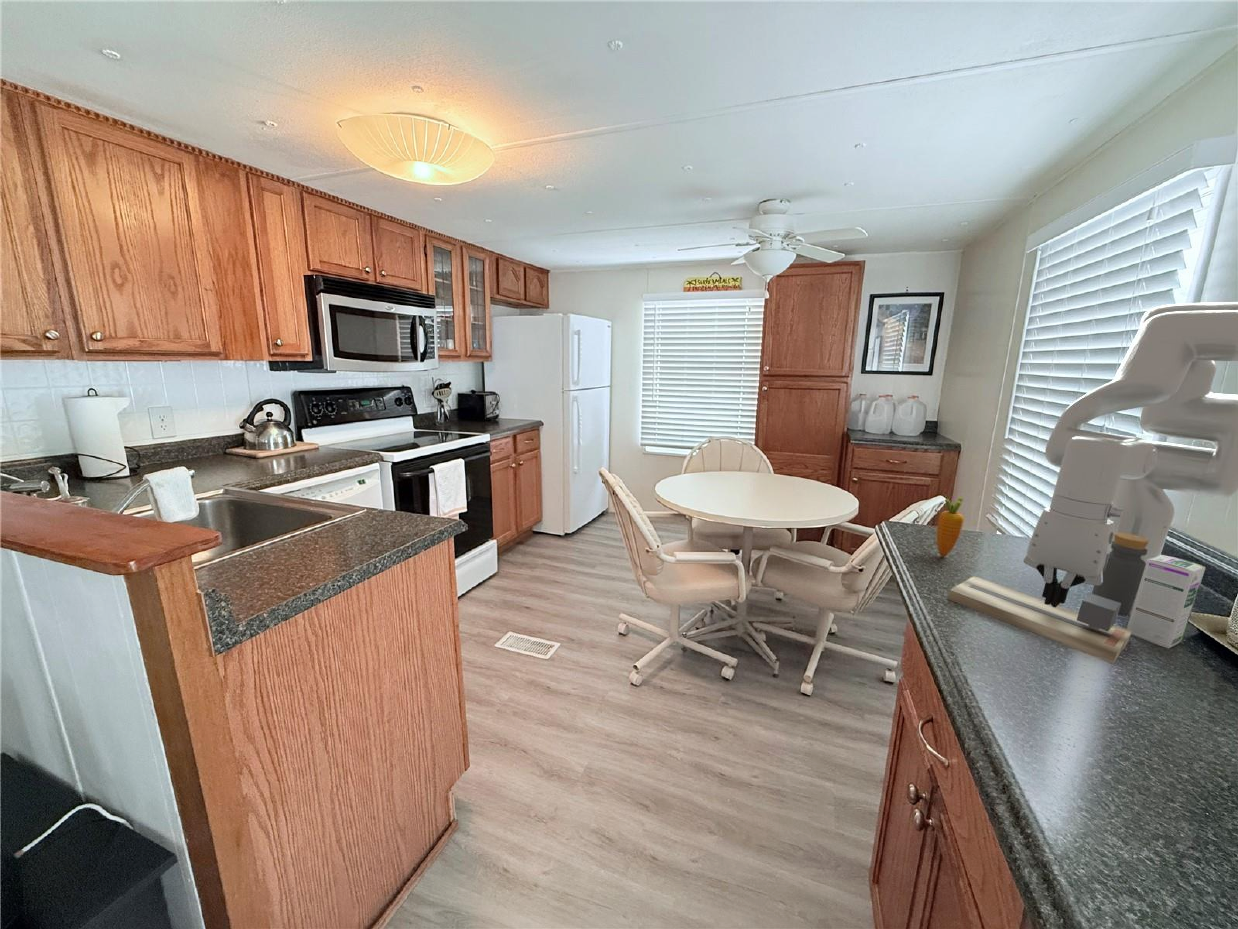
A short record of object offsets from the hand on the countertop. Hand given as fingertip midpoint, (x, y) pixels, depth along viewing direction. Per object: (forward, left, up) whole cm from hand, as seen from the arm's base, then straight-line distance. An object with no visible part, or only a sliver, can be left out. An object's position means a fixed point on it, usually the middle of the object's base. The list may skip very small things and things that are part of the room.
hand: (1052, 603), depth 89 cm
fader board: (0, -2, -4) cm, 5 cm away
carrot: (-17, -24, -4) cm, 30 cm away
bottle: (-20, +5, -4) cm, 21 cm away
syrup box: (-12, +12, -4) cm, 17 cm away
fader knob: (0, +6, -2) cm, 6 cm away
